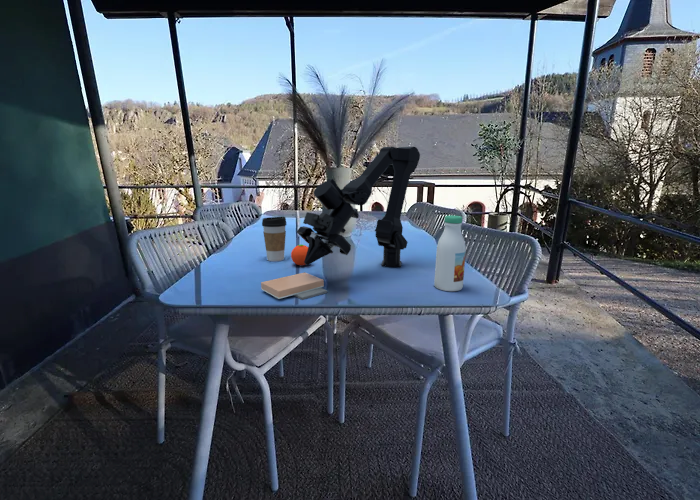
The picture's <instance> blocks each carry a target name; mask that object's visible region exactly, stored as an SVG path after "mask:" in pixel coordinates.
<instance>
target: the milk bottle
mask: <svg viewBox="0 0 700 500" xmlns="http://www.w3.org/2000/svg"><path fill="white" fill-rule="evenodd" d="M443 221H444V223H443V225H444V228H443V229H444V230H443V232H442V233H441V236H440V238H438V242H437V246H436V256H435V265H434V266H435V267H434V268H435V269H434V281H433V282H434V287H435V288H436V289H438V290H441V291H446V292H457V291H461V290H462V289H463V287H464V278H465V277H464V276H465V267H466V266H465V265H466V253H467V252H466V249H467V247H466V242H465V238H464V236H463V232H462V225H463V216H460V215H445V216H444V220H443Z"/></svg>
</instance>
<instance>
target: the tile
mask: <svg viewBox="0 0 700 500" xmlns="http://www.w3.org/2000/svg"><path fill="white" fill-rule="evenodd" d="M324 284H325V283H324V279H322V278H321V277H317V276H315V275H312V274H310V273H307V272H306V271H305V272H301V273H296V274H293V275H288V276H283V277H278V278H275V279H274V278H273V279H270V280H266V281H261V282H260V287H261V290H262V291H263V292H266V293H267V294H269V295H271V296H273V297H274V298H275V299H278V300H280V299H283V298H288V297H291V296H293V295H295V294H299V293H303V292H306V291H310V290H314V289H318V288H324V286H325V285H324Z"/></svg>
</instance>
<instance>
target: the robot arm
mask: <svg viewBox="0 0 700 500" xmlns="http://www.w3.org/2000/svg"><path fill="white" fill-rule="evenodd" d="M420 157H421V153H420V151H419V149H418V148H417V147H416V146H400V147H395V146H383V147H381V148H380V150H379V153H378V154H377V155H376V156H375V157H374V158H373V159H372V161H371V162H370V163H369V165H368V166H367V167H366V168H365V169H364V171H363V172H361V174H360V175H359V176H358V177H356V178H354V179H352V180H350V181H349V182H348V183H347V184H345V185H344V187H343V188H342V189H341V188H340V187H339V186H338V184H337V183H336V181H335V180H334V179H333V178H328V179H327V180H326V181H324V182H322V183H320V184H319V185H317V186H316V187H315V189H314V191H313V195H314V197H315V198H316V199H317V200H318V201H319V202H320V203H321V205H322V206H323V207H324V208H325V210H330V212H329V214H328V213H325V212H321V213H320V214H316V213H313V212H306V214H305V216H304V219H303V223H302V224H304V225H308V226H310V227H308V226H299V228H298V229H297V231H296V233H297V234H298V235H299V236H300V238H302V239H303V241H305V242H306V243H307V244H308V246H307V247H308V251H307V254H306V258H305V261H304V263H305V264H306V266H309V265H311V264H313V263H314V262H316V261H318V260H320V259H322V258H323V257H325V256H327V255H330V254H334V251H333V250H334V248H336V247H337V248H339V253H340V254H342V255H345V256H348V255H349V254H350V253H351V251H352V245H351V244H350V243H349V241H348V240H347V239H346V238H345V237H344V236H343V235H342V234H341V233H343V234H344V233H345V232H346V229H345V226H346V225H347V224H348V222H349V221H350V219H352V218H354V219H359V212H358V210H359V209H358V208H354V206H353V205H355V206H364V205H366V203H367V202H368V200H369V199H370V197H371V195H372V193H373V187H374V185H375V184H376V183H377V181H378V180H379V179H380V178H381V177H382V175H383V174H384V172H386V170H387V169H388V168H389V166H391V165H392V167H393V170H394V173H393V174H394V175H393V179H392V182H391V183H392V184H391V189H390V192H389V198H388V203H387V205H386V210H385V214H384V216H383V217H382V219H381V218H380V219H379V218H378V219H377V221H376V227H375V230H374V232H375V234H374V235H375V238H376V240H377V245H378V246H380V247H383V255H382V256H383V258H382V262H381V265H380V266H381V267H391V268H401V267H402V260H401V253H402V252H401V250H405V249H407V246H408V243H409V242H408V240H407V239H406V238H405V236H404V235H403V229H404V227H403V224H402V220H401V215H402V211H403V207H404V203H405V198H406V194H407V189H408V185H409V181H410V177H411V175H412V174H413V173H414V171H415V170H416V169H417V166H418V165H419V161H420V159H421V158H420ZM311 227H312V228H311Z"/></svg>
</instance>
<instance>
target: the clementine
mask: <svg viewBox="0 0 700 500" xmlns="http://www.w3.org/2000/svg"><path fill="white" fill-rule="evenodd" d="M308 247H309V246H307V245H306V244H305V245H304V244H298V245H296V246H295V247H293V249H292V250H291V252H290V257H291V261H292V262H293V263H294V264H295V265H297V266H305V265H306V264H305V263H304V261H305V258H306V254H307V251H308ZM306 266H307V265H306Z"/></svg>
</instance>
